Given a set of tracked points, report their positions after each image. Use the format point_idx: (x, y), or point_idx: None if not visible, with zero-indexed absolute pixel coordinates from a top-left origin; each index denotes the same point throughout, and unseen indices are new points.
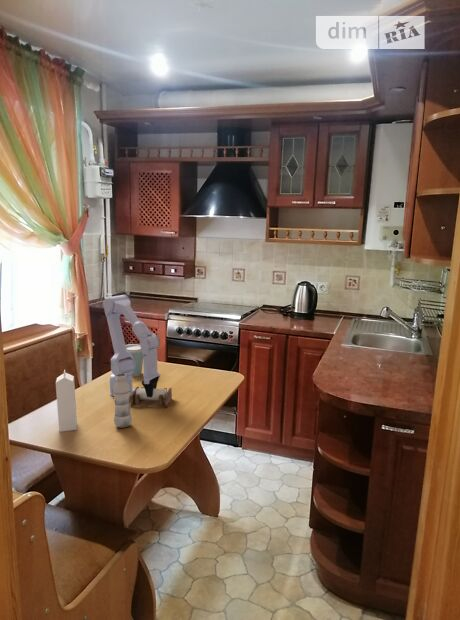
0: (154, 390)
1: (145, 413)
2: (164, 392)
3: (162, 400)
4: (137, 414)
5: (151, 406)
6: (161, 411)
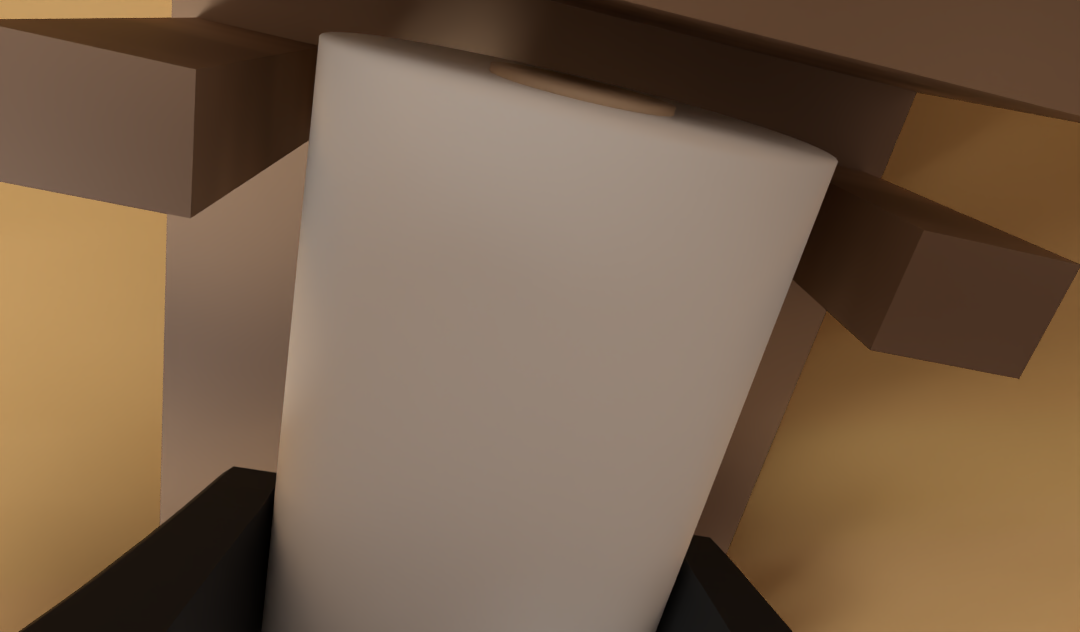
0: (609, 619)
1: (1026, 492)
2: (787, 155)
3: (869, 187)
4: (1011, 610)
5: (768, 416)
6: (1066, 172)
